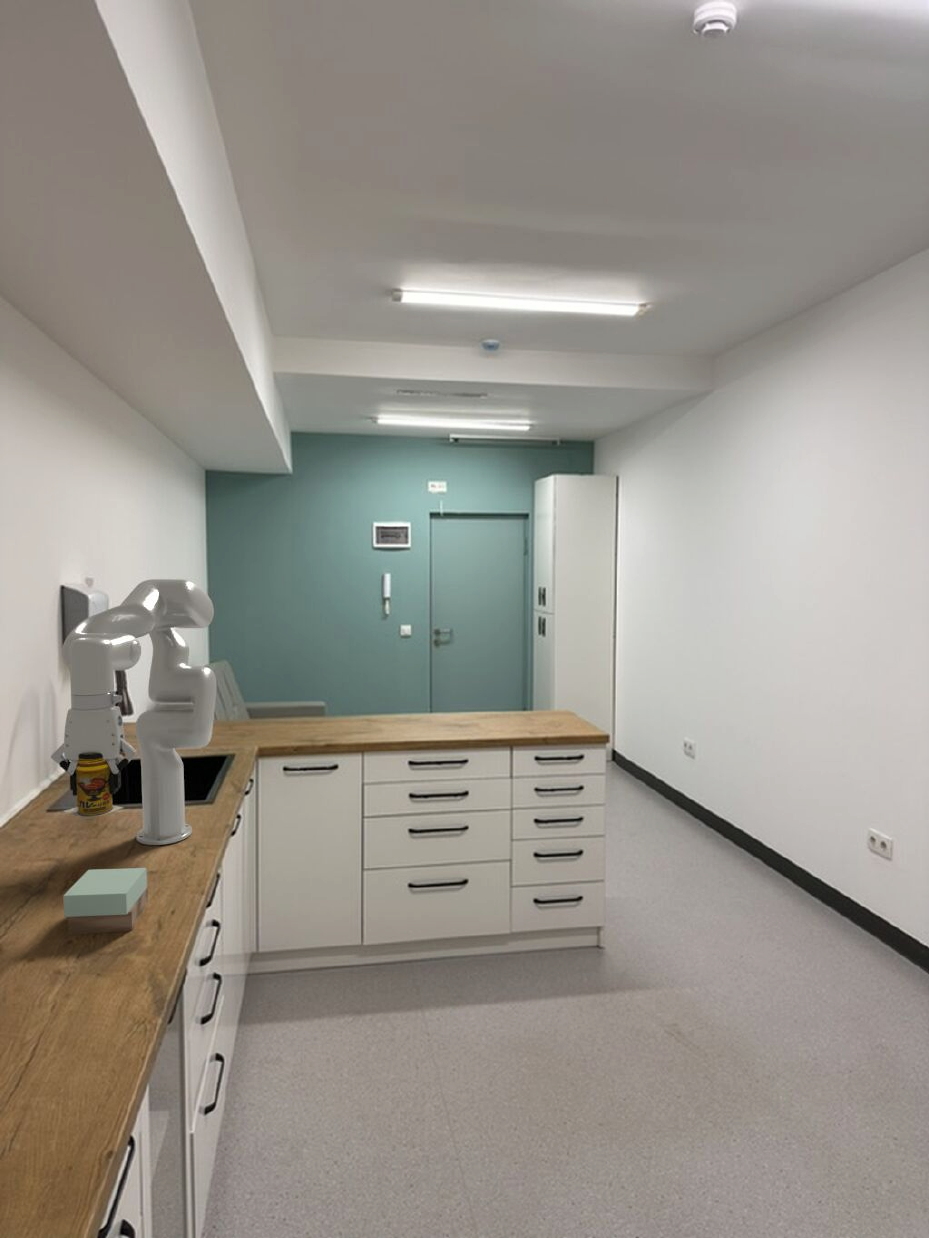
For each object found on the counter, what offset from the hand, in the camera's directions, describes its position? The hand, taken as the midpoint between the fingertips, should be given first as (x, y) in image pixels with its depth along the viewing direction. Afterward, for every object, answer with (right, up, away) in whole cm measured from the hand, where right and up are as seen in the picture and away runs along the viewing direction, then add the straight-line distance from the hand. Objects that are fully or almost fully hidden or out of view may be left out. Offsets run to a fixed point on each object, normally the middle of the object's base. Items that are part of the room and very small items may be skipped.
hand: (96, 791), depth 142 cm
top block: (+4, -20, -4) cm, 21 cm away
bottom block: (+4, -24, -3) cm, 24 cm away
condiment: (-1, -4, 0) cm, 4 cm away
